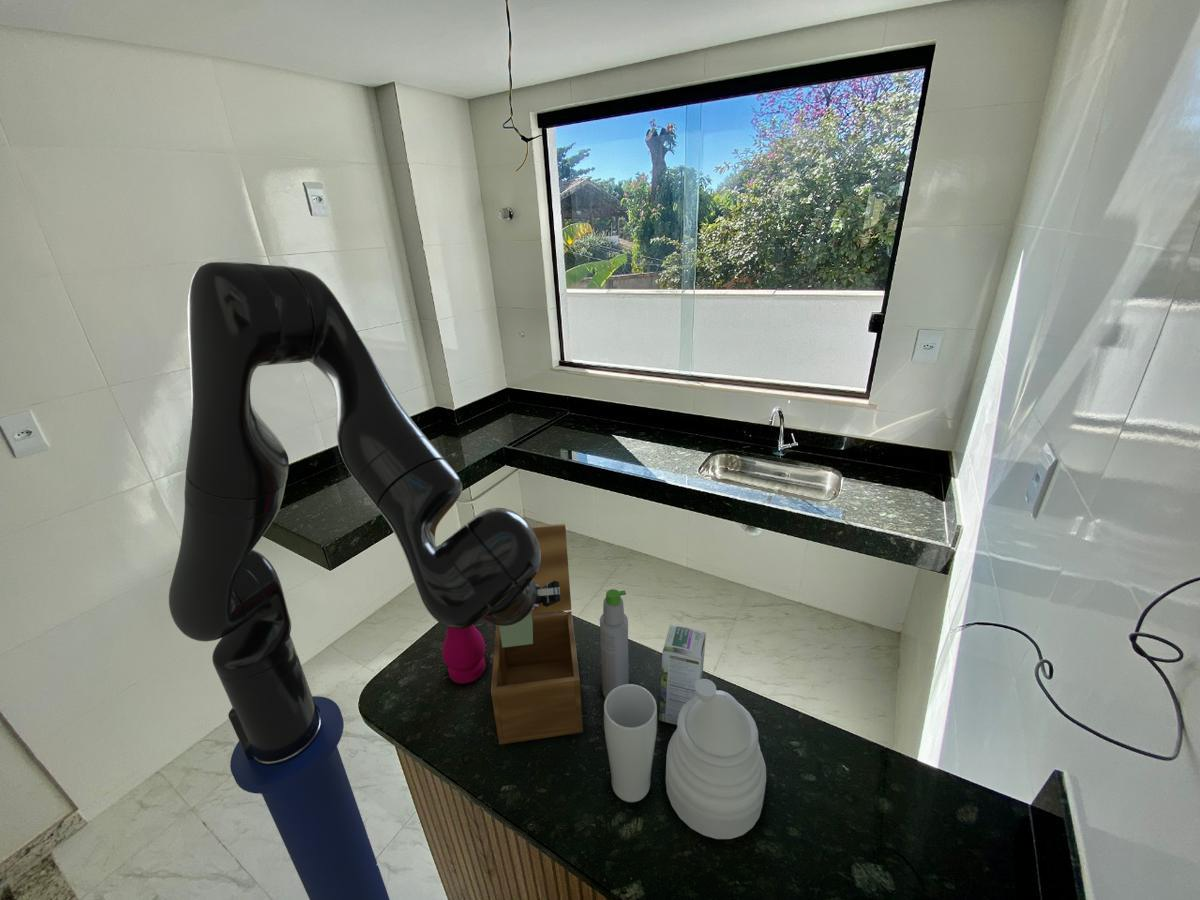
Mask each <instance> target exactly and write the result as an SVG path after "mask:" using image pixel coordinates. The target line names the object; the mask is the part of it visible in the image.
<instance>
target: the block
mask: <svg viewBox="0 0 1200 900" xmlns="http://www.w3.org/2000/svg"><path fill="white" fill-rule="evenodd" d="M532 616H533V615H532V611H530V613H529V614H528V615H527V616H526V617H525V618H524V619H523V620H521V621H519V622H518V623H515V624H513V625H508V626H500V625H499V628H500V635H501V642H502V648H504V647H512V646H520V645H528V644H533V620H532Z"/></svg>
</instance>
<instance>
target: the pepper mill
mask: <svg viewBox="0 0 1200 900" xmlns="http://www.w3.org/2000/svg"><path fill="white" fill-rule="evenodd" d="M485 654H486V642H485V639H484V637H483V635H482V633H480V631H479V630H478V629H477V628H476V626H475V624H474V625H472V626H470V627H468V628H465V629H455V628H450V627H448V626H446V635H445V638H444V641H443V644H442V650H441V655H442V661H443V663H444V664H445V665H446V666H447V670H448V675H449V678H450V679H451V680H452V682H454V683H456V684H462V685H463V684H468V683H472V682H474V681H476V680H477V679H479V678H480V677H481V676H482V675H483V673H484V671H485V669H486V661H485V660H486V659H485Z"/></svg>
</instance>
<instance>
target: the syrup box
mask: <svg viewBox="0 0 1200 900" xmlns="http://www.w3.org/2000/svg"><path fill="white" fill-rule="evenodd" d="M706 638H707V632H705V631H702V630H699V629H695V628H691V627H686V626H682V625H674V624H670V625H669V627H668V631H667V633H666V639H665V641H664V644H663V648H662V652H661V671H660V689H659V690H660V691H659V710H658V711H659V712H658V720H659V721H660V722H663V723H668V724H672V725H676V726H677V721H678V715H679V712H680V710H681V708H682V706H683V705H684V704H685V703H686V702H687V701H688V700H690V699H692V698H694V697H695V696H697V695H696V692H695V683H696V682H697V681H698V680H700V679H703V673H704V662H705V653H706V652H705V651H706Z"/></svg>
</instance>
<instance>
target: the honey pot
mask: <svg viewBox="0 0 1200 900" xmlns="http://www.w3.org/2000/svg"><path fill="white" fill-rule="evenodd" d="M695 692H696V695H697V696H695V697H694V698H692V699H690V700H688V701H687V702H686V703H685V704H684V705H683V706H682V708H681V710H680V712H679V715H678V721H677V725H676V730H674V732H673V733H672V735H671V738H670V740H669V741H668V744H667V749H666V759H665V760H666V761H665V788H666V795H667V797H668V800H669V802H670V805H671V807H672V808H673V810H674V812H675V813H676V814H677V816H678V817H679V819H680V820H681V821H682V822H684V824H686V825H687V826H688V827H689V828H690V829H691V830H693V831H694V832H697V833H698V834H700V835H702V836H704V837H708V838H712V839H715V840H731V839H736V838H739V837H742V836H744V835H745V834H746V833H748V832H749V831H750V830H751V829H753V828H754V826H755V825H756V823H757V822H758V820H759V819H760V817H761V814H762V810H763V805H764V801H765V800H764V799H765V793H766V783H767V766H766V762H765V759H764V756H763V752H762V751H761V746H760V742H759V731H758V727H757V724H756V721H755V719H754V718H753V716H752V714H751V713H750V712H749V711H748V710H747V709H746V707H744V706H743V704H742V703H739V702H738V700H737V699H736V698H735V697H734V696H733V695H732V694H730V693H729V692H727V691H724V690H721V689H720V690H719V689H718V690H717V686H716V684H715V682H713V681H712V680H711V679H708V678H702V679H700V680H698V681H697V682H696V683H695Z"/></svg>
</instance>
